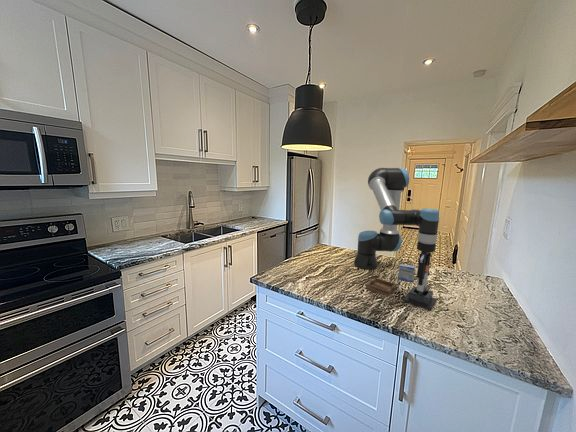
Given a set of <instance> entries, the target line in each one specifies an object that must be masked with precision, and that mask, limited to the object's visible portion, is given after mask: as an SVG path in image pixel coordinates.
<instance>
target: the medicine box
mask: <svg viewBox="0 0 576 432" xmlns="http://www.w3.org/2000/svg"><path fill="white" fill-rule="evenodd" d="M415 267H416V266H415V265H412V264H410V265H409V264H404V263H399V268H398V276H397V277H398V278H397V280H399V281H405V282H409V283H413V282H414V276H415V269H416V268H415Z"/></svg>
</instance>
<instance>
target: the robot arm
mask: <svg viewBox="0 0 576 432" xmlns="http://www.w3.org/2000/svg"><path fill="white" fill-rule="evenodd" d="M409 175H410V174H409V172H408V170H407V169H406V168H404V167H378V168H376V169H373V171H371V173H370V174H369V176H368V179H367V185H368V187H369V189H370V190H372V193H373V195H374V198H375V199H376V202H377V204H378V206H379V209H380V212H379V215H378V216H379V223H380V224H381V225H382V228H381V229H379V233H378V232H377V231H376V230H364V231H360V232H359V233H358V238H357V251H356V252H357V253H356V255H355V258H354V260H353V265H354V267H356V268H358V269H361V270H362V269H363V270H368V271H369V270H375V269H377V268H378V266H379V265H378V264H379V263H378V260H377V257H376V254H377V253H376V252H397V251H399V250H400V249H401V247H402V242H403V240H402V239H403V237H402V235H401V234H400V231H399V230H398V226H415V227H416V226H417V227H418V233H417V234H416V235H417V236H418V237H417V243H416V249H417V250H418V251H420V254H419V257H418V264H417V274H416V276H415V277H416V278H417V281H418V283H417V282H416V287H417V290H418V291H421V292H423V291H424V282H425V278H424V276H425V270H426V265H428V266H429V267H430V266H431V265H430V263H431V257H432V253H434V252H435V251H436V245H437V244H436V243H437V239H438V238H437V237H438V231H439V230H438V229H439V223H440V210H438V209H436V208H422V209H421V210H420V209H414V208H413V209H400V204H401V197H402V193H403V192H404V191H405V188H407V187H408V186H409V185H410V176H409ZM429 272H430V268H429V269H428V276H430V273H429Z"/></svg>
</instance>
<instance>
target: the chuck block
mask: <svg viewBox="0 0 576 432" xmlns="http://www.w3.org/2000/svg"><path fill="white" fill-rule="evenodd" d="M416 290H417V286H415V285H413V286H412V288H411V289H410V290H409V291H408V293H407V294H406V295H405V296H404V298H403V299H402V302H404V303H405V304H409V305H412V306H415V307H418V308H421V309H424V310H427V311H430V312H431V311H432V310H433V308H434V306H435V305H436V303H437V301H438V298H436V297H433V296H434V295H433V294H434V291H432V290H429V289H426V295H422V294H419V293H416Z"/></svg>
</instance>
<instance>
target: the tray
mask: <svg viewBox="0 0 576 432" xmlns="http://www.w3.org/2000/svg"><path fill="white" fill-rule="evenodd" d="M397 286H398V284H397V283H394V282H391V281H388V280H385V279H381V278H377V277H374V278H373V279H371V280H370V281H368V282H367V283H366V284H365V290H367V291H371V292H373V293H377V294H379V295H382V296H385V297H390V295H392V294H393V293H394V291H396V289H397Z"/></svg>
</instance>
